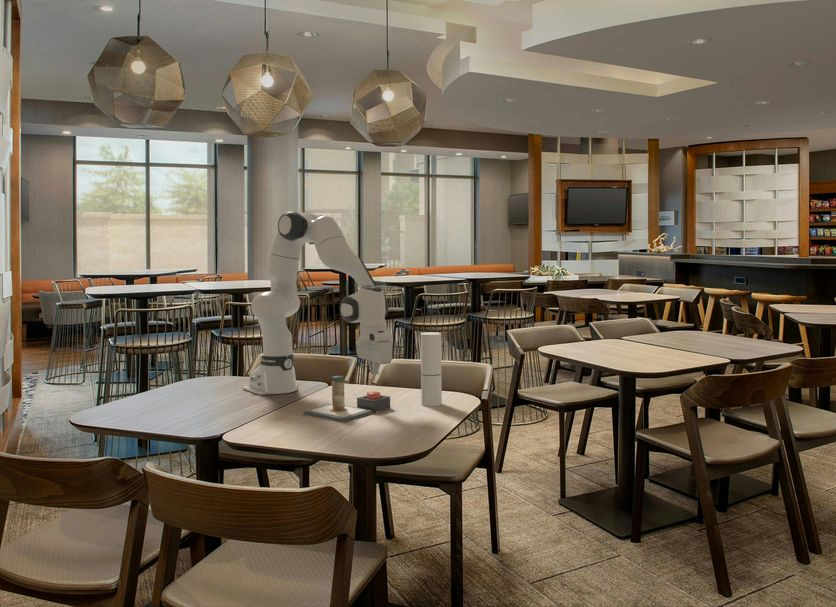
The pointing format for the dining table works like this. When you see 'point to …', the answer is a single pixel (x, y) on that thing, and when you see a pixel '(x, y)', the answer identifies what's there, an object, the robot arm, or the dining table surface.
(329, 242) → the robot arm
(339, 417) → the grey tray
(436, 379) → the cylindrical container
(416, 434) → the dining table surface
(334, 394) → the marker
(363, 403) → the button housing
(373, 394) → the button
